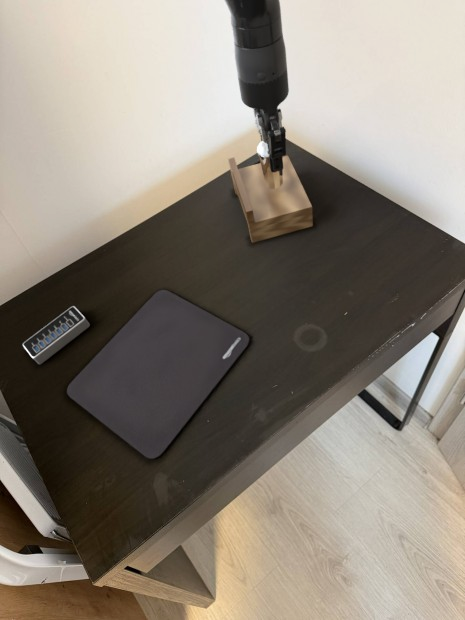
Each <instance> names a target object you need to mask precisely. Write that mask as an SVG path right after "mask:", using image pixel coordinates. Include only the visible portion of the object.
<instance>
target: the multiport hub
mask: <svg viewBox="0 0 465 620" xmlns="http://www.w3.org/2000/svg"><path fill="white" fill-rule="evenodd" d="M90 325H91V324H90V322H89V321H88V320H87V318H86V317H85V316H84V315H83V314H82V312H80V310H79V309H78V308H77V307H76V306H75V305H72V306H70V307H69V308H68V309H67V310H65V311H64V312H62V313H61V314H60V315H59V316H57V317H56V318H54V319H53V320H51V321H50V322H49V323H48V324H47V325H45V326H43V328H41V329H40V330H38V331H37V332H36V333H34V334H33V335H32V336H30V337H29V338H28V339H26V340H24V342H23V343H22V347H23V349H24V350H25V351H26V352H27V353H28V355H29V356H30V357H31V358H32V360H34V361H35V362H36V363H37V364H38V365H42V364H43V363H44V362H46V361H47V360H49V359H50V358H51V357H52V356H54V355H55V354H56V353H57V352H59V351H60V350H61V349H62V348H64V347H65V346H67V345H68V344H69V343H70V342H71V341H73V340H74V339H76V338H77V337H78V336H79V335H80V334H82V333H83V332H84V331H86V330H87V329H88V328H90Z"/></svg>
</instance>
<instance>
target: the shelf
mask: <svg viewBox="0 0 465 620" xmlns="http://www.w3.org/2000/svg"><path fill="white" fill-rule="evenodd" d="M227 160H228V166H229V170H230V175H231V180H232V184H233V189H234V192H235V195H237V197H238V200H239V202H240V205H241V208H242V211H243V214H244V217H245V221H246V223H247V227H248V232H249V237H250V240H251V243H252V244H253V243H257V242H260V241H264V240H267V239H268V240H269V239H272V238H275V237H278V236H282V235H285V234H291V233H294V232H296V231H297V232H298V231H301V230H304V229H307V228H311V227H314V218H313V217H314V215H313V206H312V203H311V201H310V199H309V197H308V195H307V193H306V190H305V188H304V186H303V184H302V182H301V180H300V178H299V176H298V174H297V172H296V170H295V167H294V165H293V163H292V161H291V159H290V157H289V155H285V156H283V184H282V185H281V187H279V188H277V189H269V188H268V187H266V184H265V179H264V175H263V171H262V167H261V163H260V162H259V163H256V164H252V165H248V166H245V167H240V168H238V164H237V162H236V159H235V157H230V158H227Z"/></svg>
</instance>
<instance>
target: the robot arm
mask: <svg viewBox="0 0 465 620" xmlns="http://www.w3.org/2000/svg"><path fill="white" fill-rule="evenodd" d="M223 1H224V2H225V5H226V7H227V9H228V12H229V19H230V25H231V26H230V27H231V31H232V38H233V46H234V47H233V48H234V51H233V53H234V61H235V69H236V74H237V79H238V86H239V93H240V99H241V101H242V103H243V104H244V105H245V106H246V107H247V108H249V109H252V112H253V116H254V123H255V125H256V126H255V127H256V128H257V129H258V130H257V132H258V134H259V135H260V136H259V137H260V142H261V141H264V142H265V143H266V145H267V153H268V155H269V163H270V169H271V172H277V171H281V170H282V169H283V159H282V156H283V157H284V156H287V142H286V141H287V139H286V133H287V131H286V130H287V129H286V127H285V126H283V124H282V122H283V121H282V120H283V114H282V110H281V107H280V108H278V107H279V106H280V105H281V104H282V103H283V102H284V101H285V100H287V98H288V96H289V92H290V88H289V86H290V85H289V78H288V77H289V74H288V65H287V64H288V62H287V50H286V44H285V39H284V34H283V20H282V19H283V18H282V8H281V2H280V0H223Z"/></svg>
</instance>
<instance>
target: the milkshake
mask: <svg viewBox="0 0 465 620" xmlns="http://www.w3.org/2000/svg"><path fill="white" fill-rule="evenodd" d="M256 152H257V156H258V159H259V163H261V167H262V171H263V175H264V179H265V184H266V187H268V188H269V189H277V188H279V187H281V185H282V184H283V169H282V170H281V171H277V172H271V169H270V163H269V155H268V153H267V145H266V143H265V142H264V141H261V140H260V142H259V143H258V144H257V147H256ZM283 157H284V156H282V159H283Z"/></svg>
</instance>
